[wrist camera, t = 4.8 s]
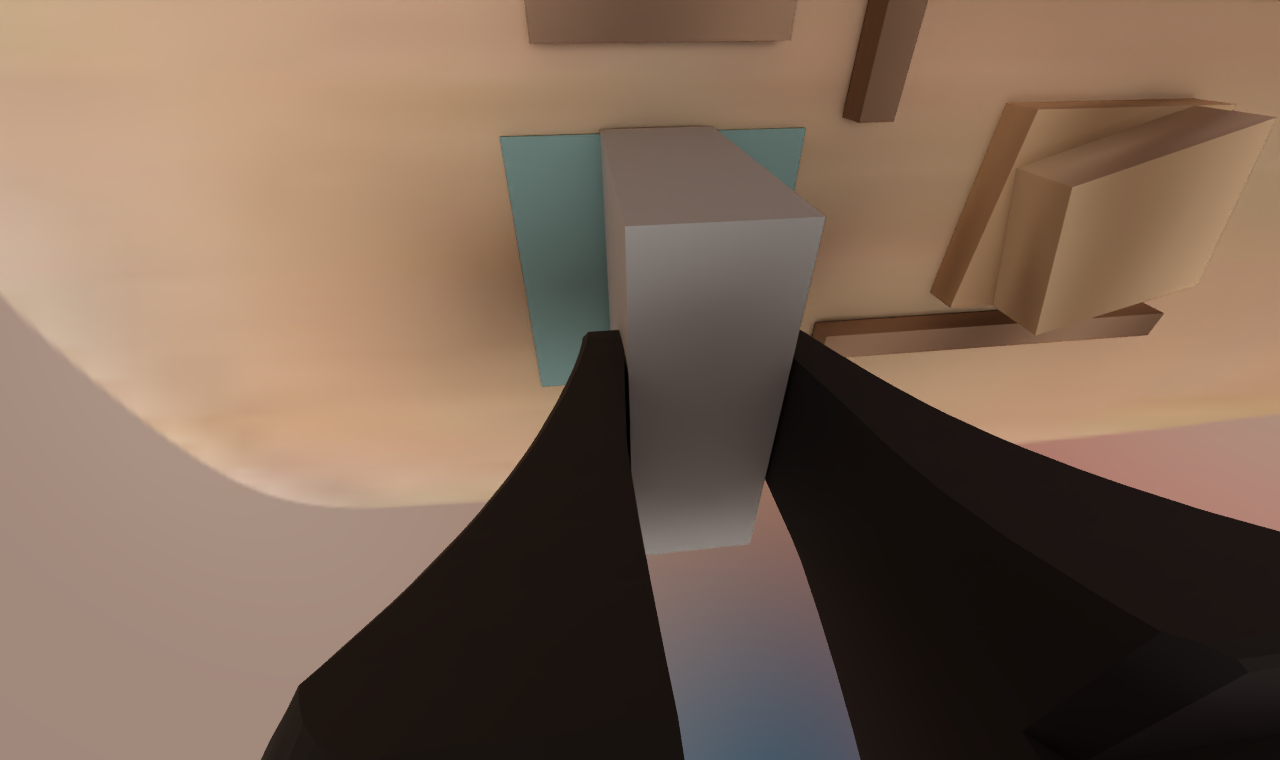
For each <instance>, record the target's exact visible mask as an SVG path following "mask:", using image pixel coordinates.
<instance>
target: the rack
mask: <svg viewBox="0 0 1280 760" xmlns="http://www.w3.org/2000/svg"><path fill="white" fill-rule="evenodd" d="M524 1H525V9H526V17H527V25H528V34H529V42H530V44H556V43H629V42H702V41H775V40H791V36H792V29H793V23H794V16H795V9H796V3H797V0H524ZM927 2H928V0H869V2H868V7H867V11H866V16H865V20H864V25H863V29H862V34H861V38H860V43H859V47H858V51H857V56H856V60H855V65H854V69H853V74H852V78H851V83H850V87H849V92H848V96H847V101H846V105H845V110H844V114H843V117H845V118H848V119H850V120H853V121H856V122H859V123H868V122H894V119H895V115H896V112H897V108H898V105H899V101H900V98H901V94H902V90H903V87H904V83H905V80H906V76H907V73H908V69H909V66H910V62H911V59H912V55H913V51H914V48H915V44H916V41H917V37H918V34H919V30H920V27H921V23H922V20H923V16H924V13H925V9H926V5H927ZM1163 314H1164V313H1162V312H1160V311H1158V310H1156V309H1154V308H1152V307H1150V306H1148V305H1146V304H1144V303H1142V302H1141V303H1138V304H1135V305H1131V306H1128V307H1125V308H1122V309H1119V310H1115V311H1112V312H1109V313H1106V314H1103V315H1099V316H1096V317H1093V318H1090V319H1087V320H1083V321H1080V322H1077V323H1074V324H1071V325H1067V326H1064V327H1061V328H1058V329H1055V330H1051V331H1048V332H1045V333H1042V334H1039V335H1034V334H1033V333H1031V332H1030V331H1028V330H1027V329H1025V328H1024V327H1022V326H1021V325H1020V324H1018V323H1017V322H1015V321H1014V320H1012V319H1011V318H1010V317H1008V316H1007V315H1005V314H1004V313H1002V312H1001V311H986V312H971V313H956V314H941V315H926V316H911V317H896V318H881V319H866V320H851V321H836V322H821V323H815V327H814V331H813V335H812V337H813V338H814V339H816V340H818V341H819V342H821V343H822V344H824V345H826V346H827V347H829V348H830V349H832V350H834V351H835V352H837V353H838V354H840V355H842V356H843V357H856V356H870V355H883V354H897V353H910V352H924V351H938V350H951V349H965V348H978V347H992V346H1006V345H1019V344H1033V343H1047V342H1060V341H1074V340H1087V339H1101V338H1115V337H1128V336H1142V335H1148V334H1149V333H1150V331H1151V330H1152V329H1153V327H1154V326H1155V325H1156V323H1157V322H1158V321H1159V319H1160V318H1161V317H1162V315H1163Z"/></svg>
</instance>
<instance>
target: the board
mask: <svg viewBox="0 0 1280 760" xmlns="http://www.w3.org/2000/svg"><path fill="white" fill-rule="evenodd" d="M600 141H601V160H602V179H603V198H604V217H605V237H606V256H607V275H608V294H609V313H610V330H619V331H620V335H621V338H622V343H623V347H624V352H625V381H626V412H627V443H628V454H629V461H630V467H631V473H632V479H633V485H634V491H635V497H636V503H637V509H638V515H639V521H640V526H641V532H642V537H643V543H644V548H645V553H646V555H654V554H663V553H673V552H681V551H690V550H700V549H709V548H717V547H727V546H736V545H746V544H750V540H751V536H752V532H753V528H754V523H755V519H756V515H757V511H758V506H759V502H760V497H761V493H762V489H763V485H764V481H765V476H766V472H767V468H768V463H769V459H770V455H771V451H772V446H773V442H774V438H775V433H776V429H777V425H778V420H779V416H780V412H781V408H782V403H783V399H784V395H785V390H786V386H787V382H788V378H789V373H790V369H791V365H792V360H793V356H794V352H795V348H796V343H797V339H798V335H799V330H800V326H801V322H802V317H803V313H804V309H805V305H806V300H807V296H808V292H809V287H810V283H811V279H812V275H813V270H814V266H815V262H816V257H817V253H818V249H819V245H820V240H821V236H822V232H823V227H824V223H825V219H826V216H824V215H823V214H822V213H821V212H819V211H818V210H817V209H816V208H814V207H813V206H812V205H811V204H809V203H808V202H807V201H806V200H804V199H803V198H802V197H800V196H799V195H798V194H797V193H795V192H794V191H793V190H792V189H790V188H789V187H788V186H787V185H785V184H784V183H783V182H782V181H780V180H779V179H778V178H777V177H775V176H774V175H773V174H772V173H770V172H769V171H768V170H767V169H765V168H764V167H763V166H762V165H760V164H759V163H758V162H757V161H755V160H754V159H753V158H751V157H750V156H749V155H748V154H746V153H745V152H744V151H743V150H741V149H740V148H739V147H738V146H736V145H735V144H734V143H733V142H731V141H730V140H729V139H728V138H726V137H725V136H724V135H723V134H721V133H720V132H719V131H718V130H716V129H715V128H714V127H713V126H698V127H664V128H631V129H600Z"/></svg>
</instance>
